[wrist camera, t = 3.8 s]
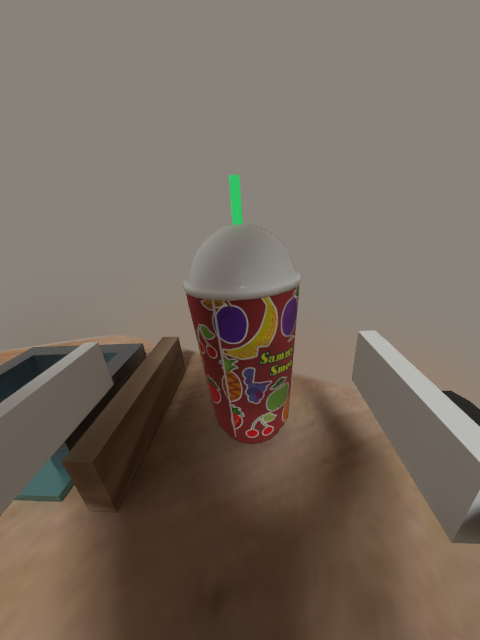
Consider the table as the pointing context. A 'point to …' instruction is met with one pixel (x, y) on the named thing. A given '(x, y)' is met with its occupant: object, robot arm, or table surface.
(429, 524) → the table surface
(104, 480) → the walnut rail
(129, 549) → the table surface
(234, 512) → the table surface
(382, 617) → the table surface
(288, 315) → the smoothie
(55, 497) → the keyed cradle
